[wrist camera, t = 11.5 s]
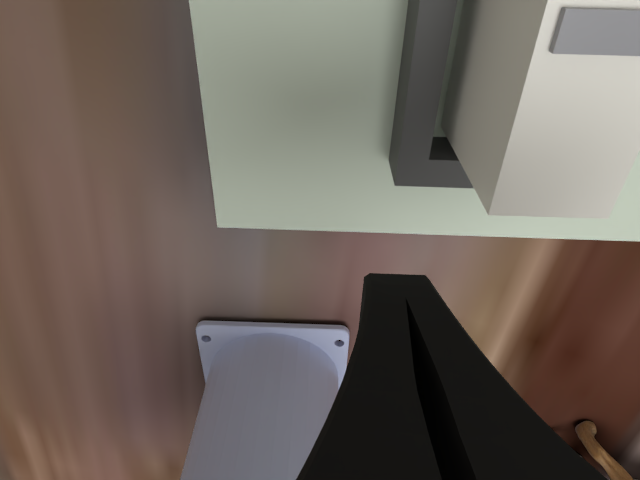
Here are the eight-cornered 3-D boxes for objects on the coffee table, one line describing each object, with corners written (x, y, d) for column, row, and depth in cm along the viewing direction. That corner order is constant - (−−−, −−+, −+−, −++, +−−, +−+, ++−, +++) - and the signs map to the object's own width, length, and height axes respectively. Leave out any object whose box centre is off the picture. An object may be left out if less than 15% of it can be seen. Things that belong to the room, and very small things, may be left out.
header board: (677, 227, 20) (729, 273, 17) (223, 212, 20) (206, 256, 17) (966, -274, 11) (1158, -333, 9) (164, -299, 11) (114, -366, 9)
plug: (524, 128, 16) (612, 222, 11) (441, 126, 16) (490, 219, 11) (572, -34, 13) (719, -6, 8) (470, -37, 13) (555, -10, 8)
